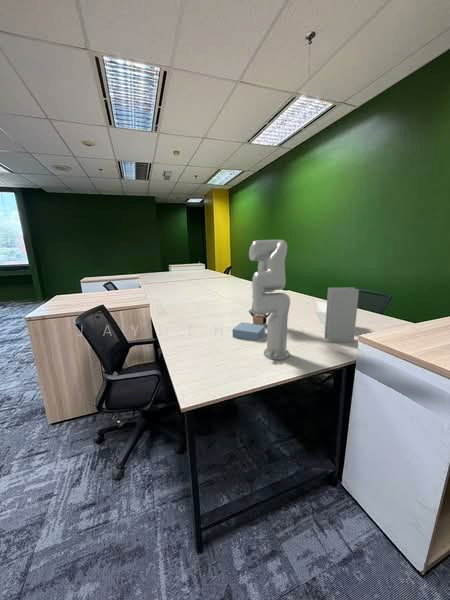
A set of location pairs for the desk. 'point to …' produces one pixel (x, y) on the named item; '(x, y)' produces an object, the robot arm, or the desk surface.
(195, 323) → the desk surface
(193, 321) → the desk surface
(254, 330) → the block
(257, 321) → the stub
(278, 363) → the desk surface
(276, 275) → the robot arm
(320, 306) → the folded paper
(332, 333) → the tall grey block
